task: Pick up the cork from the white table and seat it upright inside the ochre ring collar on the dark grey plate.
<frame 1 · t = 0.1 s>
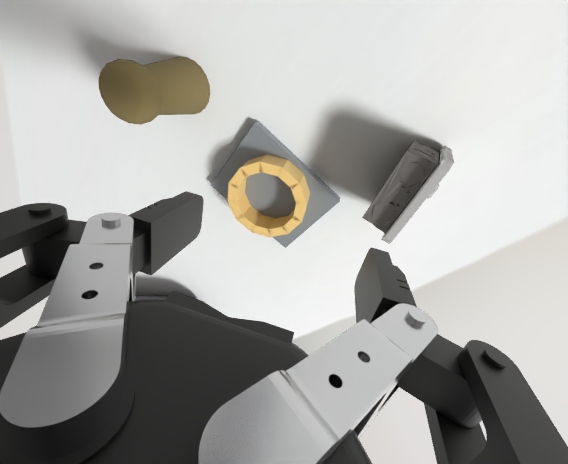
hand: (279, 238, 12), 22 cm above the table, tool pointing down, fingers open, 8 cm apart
electrical switch: (400, 175, 31), on the table
cork: (187, 86, 32), on the table
collar plate: (274, 189, 36), on the table
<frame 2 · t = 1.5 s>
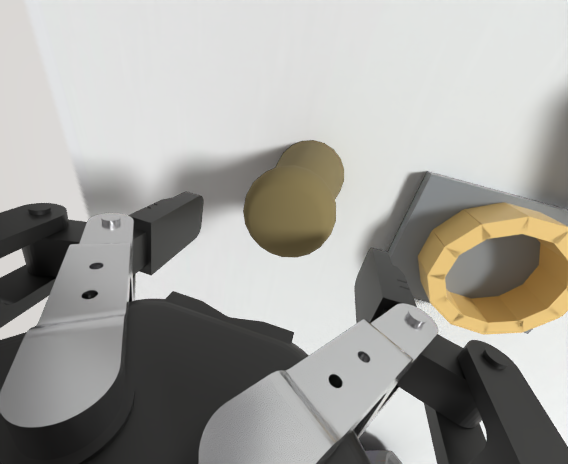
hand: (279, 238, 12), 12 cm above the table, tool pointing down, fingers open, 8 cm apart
bluetooth speaker: (325, 452, 41), on the table
cork: (309, 175, 23), on the table
collar plate: (477, 254, 23), on the table
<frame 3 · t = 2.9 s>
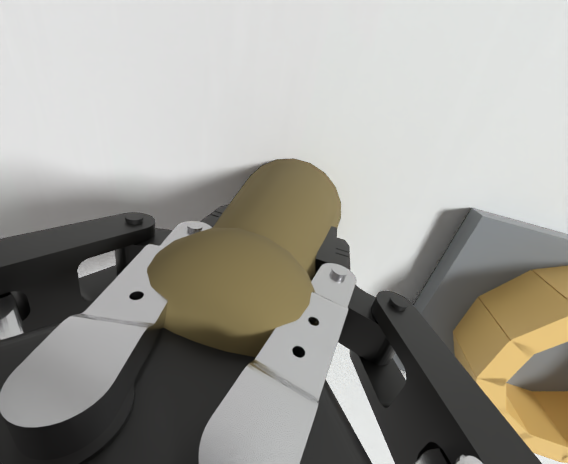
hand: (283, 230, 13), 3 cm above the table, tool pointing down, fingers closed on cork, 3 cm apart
cork: (289, 209, 16), on the table, touching gripper
collar plate: (542, 327, 15), on the table
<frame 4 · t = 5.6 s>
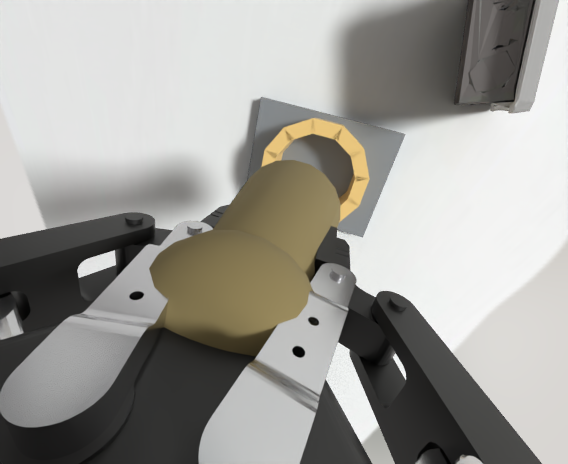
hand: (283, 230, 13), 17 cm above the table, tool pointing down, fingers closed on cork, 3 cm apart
electrical switch: (473, 55, 22), on the table
cork: (289, 210, 16), point 14 cm above the table, touching gripper
collar plate: (316, 169, 28), on the table
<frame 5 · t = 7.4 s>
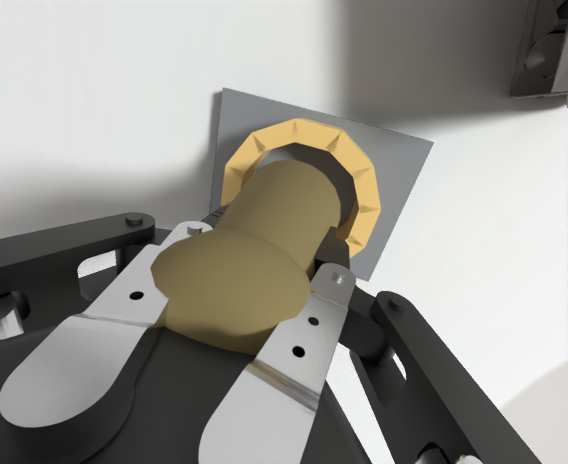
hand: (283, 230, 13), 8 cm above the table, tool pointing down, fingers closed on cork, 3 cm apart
electrical switch: (543, 21, 14), on the table
cork: (289, 210, 16), point 5 cm above the table, touching gripper
collar plate: (304, 189, 20), on the table
when the fingers open (5 cm above the table, at t = 8.6 s): cork drops 1 cm, resting on collar plate.
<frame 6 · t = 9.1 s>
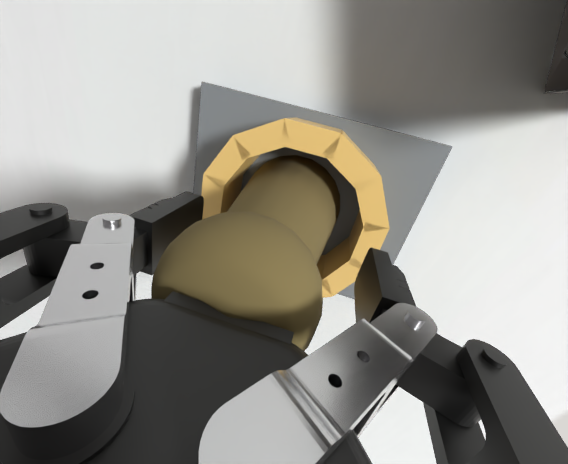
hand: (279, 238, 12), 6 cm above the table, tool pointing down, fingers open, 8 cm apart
cork: (292, 203, 17), point 1 cm above the table, touching collar plate
collar plate: (299, 200, 18), on the table
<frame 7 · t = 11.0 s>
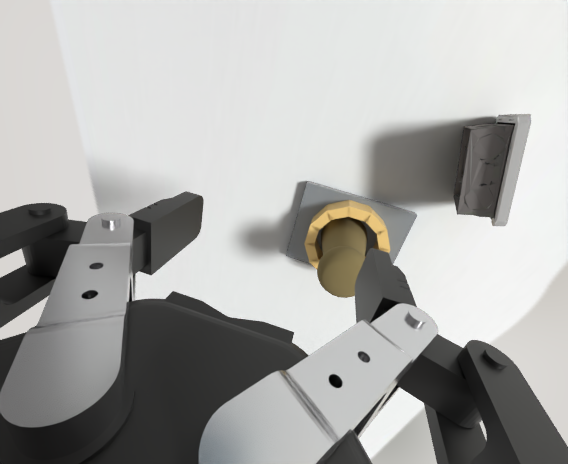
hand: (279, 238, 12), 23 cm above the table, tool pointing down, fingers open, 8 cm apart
electrical switch: (467, 163, 30), on the table
cork: (343, 235, 35), point 1 cm above the table, touching collar plate
collar plate: (345, 233, 36), on the table
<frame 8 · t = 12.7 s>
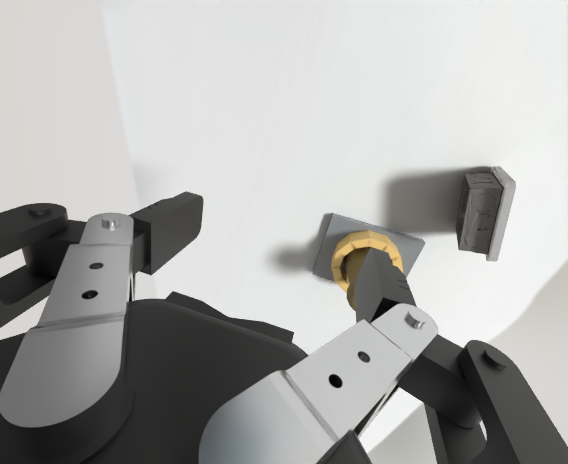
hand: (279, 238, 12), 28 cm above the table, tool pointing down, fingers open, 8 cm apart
electrical switch: (467, 201, 36), on the table
cork: (362, 258, 41), point 1 cm above the table, touching collar plate
collar plate: (364, 256, 42), on the table
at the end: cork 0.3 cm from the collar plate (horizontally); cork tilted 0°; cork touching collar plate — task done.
